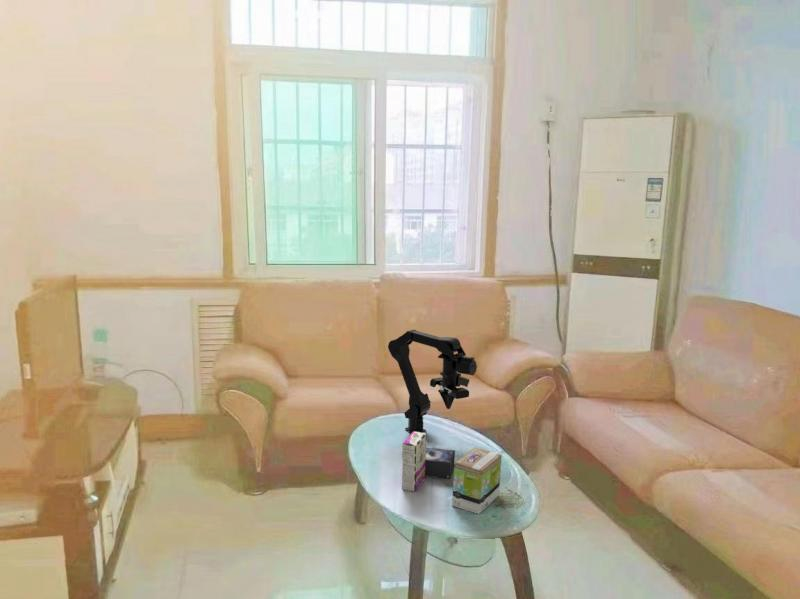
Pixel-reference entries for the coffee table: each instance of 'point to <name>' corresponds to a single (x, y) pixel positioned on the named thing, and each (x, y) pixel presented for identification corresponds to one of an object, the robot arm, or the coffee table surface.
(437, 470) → the small box
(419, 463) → the candy bar box
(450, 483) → the slate mat
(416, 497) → the coffee table surface
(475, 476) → the tea box
